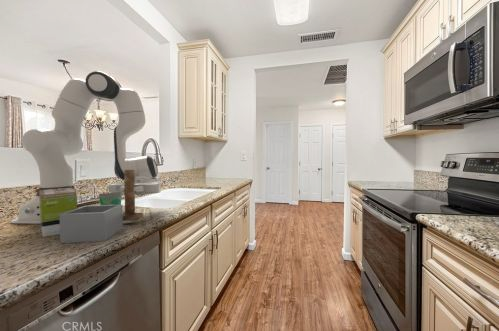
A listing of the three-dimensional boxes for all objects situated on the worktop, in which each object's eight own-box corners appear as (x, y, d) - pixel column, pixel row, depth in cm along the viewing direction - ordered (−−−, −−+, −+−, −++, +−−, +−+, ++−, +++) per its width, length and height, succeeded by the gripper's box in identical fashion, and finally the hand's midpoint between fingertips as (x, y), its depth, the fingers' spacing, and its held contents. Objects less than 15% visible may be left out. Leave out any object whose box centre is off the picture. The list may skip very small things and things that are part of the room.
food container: (109, 215, 104) (109, 194, 103) (98, 214, 105) (98, 193, 105) (129, 209, 116) (128, 190, 115) (118, 209, 117) (118, 190, 117)
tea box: (40, 228, 85) (38, 189, 85) (73, 222, 92) (72, 187, 92) (41, 237, 75) (39, 193, 74) (78, 230, 82) (77, 190, 81)
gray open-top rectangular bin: (60, 243, 69) (59, 214, 69) (85, 229, 82) (84, 205, 82) (105, 240, 71) (104, 212, 71) (122, 228, 84) (122, 204, 84)
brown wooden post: (116, 221, 87) (116, 170, 87) (122, 217, 92) (121, 169, 92) (138, 220, 89) (137, 170, 88) (142, 217, 93) (142, 169, 93)
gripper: (116, 179, 101) (100, 182, 88) (163, 178, 104) (155, 181, 90) (117, 192, 102) (101, 198, 88) (163, 192, 104) (155, 197, 91)
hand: (128, 189), depth 89 cm, fingers closed on brown wooden post, 4 cm apart
